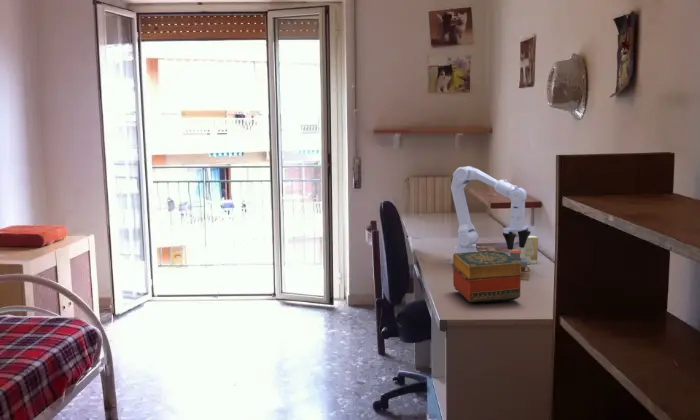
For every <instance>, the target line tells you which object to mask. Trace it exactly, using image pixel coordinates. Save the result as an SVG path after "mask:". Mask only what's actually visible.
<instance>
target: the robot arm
mask: <svg viewBox="0 0 700 420" xmlns="http://www.w3.org/2000/svg"><path fill="white" fill-rule="evenodd" d="M475 180H476V181H477V180H478V181H480V182H482V183H484V184H486V185H488V186H491V187H493V189H494V191H495V192H497V193H498V194H500V195H502V196H504V197H506V198H508V199H509V200H510V202H511V203H510V216H509V217H510V218H509V220H510V221H509V222H510V223H509V226H507V227H504V228H503V232H502V235H503V238H504V239H505V242H506V247H507V250H508V251H509V250H513V249H514V243H515V239H516V236H517V235H518V247H519V248H520V249H521V248H524V247H525V244H526V241H527V238H528V236H531V230H530V229H531V227H530V225H525V217H526V216H525V214H526V213H525V212H526V211H525V210H526V199H527V197H528V193H527V190H525V189H524V188H523V187H518V185H516V184H515V185H514V184H512V183H510V182H508V179H499V180H498V179H495V178H494V177H492V176H491V175H489V174H487V173H485V171H482V170H480V169H478V168H476V167H473V166H471V165H467V166H460V167H457V168H456V170H454V172H453V173H452V181H451V184H450V190H451V194H452V200H453V203H454V209H455V212H456V216H457V221H458V225H459V227H458V230H457V233H458V234H457V235H458V236H457V242H458V244H459V245H455V246H454V254H455V253H468V252H477V242H478V241H479V238H480V237H479V234H478V232H477V230H476V229H475V226H474V224H473V223H472V220H471V215H470V212H469V207H468V204H467V198H466V194H465V190H464V189H465V187H466V186H467V184H468V183H470V182H471V181H475ZM515 233H517V234H515Z"/></svg>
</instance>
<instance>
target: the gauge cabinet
mask: <svg viewBox="0 0 700 420" xmlns="http://www.w3.org/2000/svg"><path fill="white" fill-rule="evenodd" d="M527 259H528V258H521V257H520V261H518V262H520V263H521V267H526V266H528V264H527ZM516 261H517V260H516Z"/></svg>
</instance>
